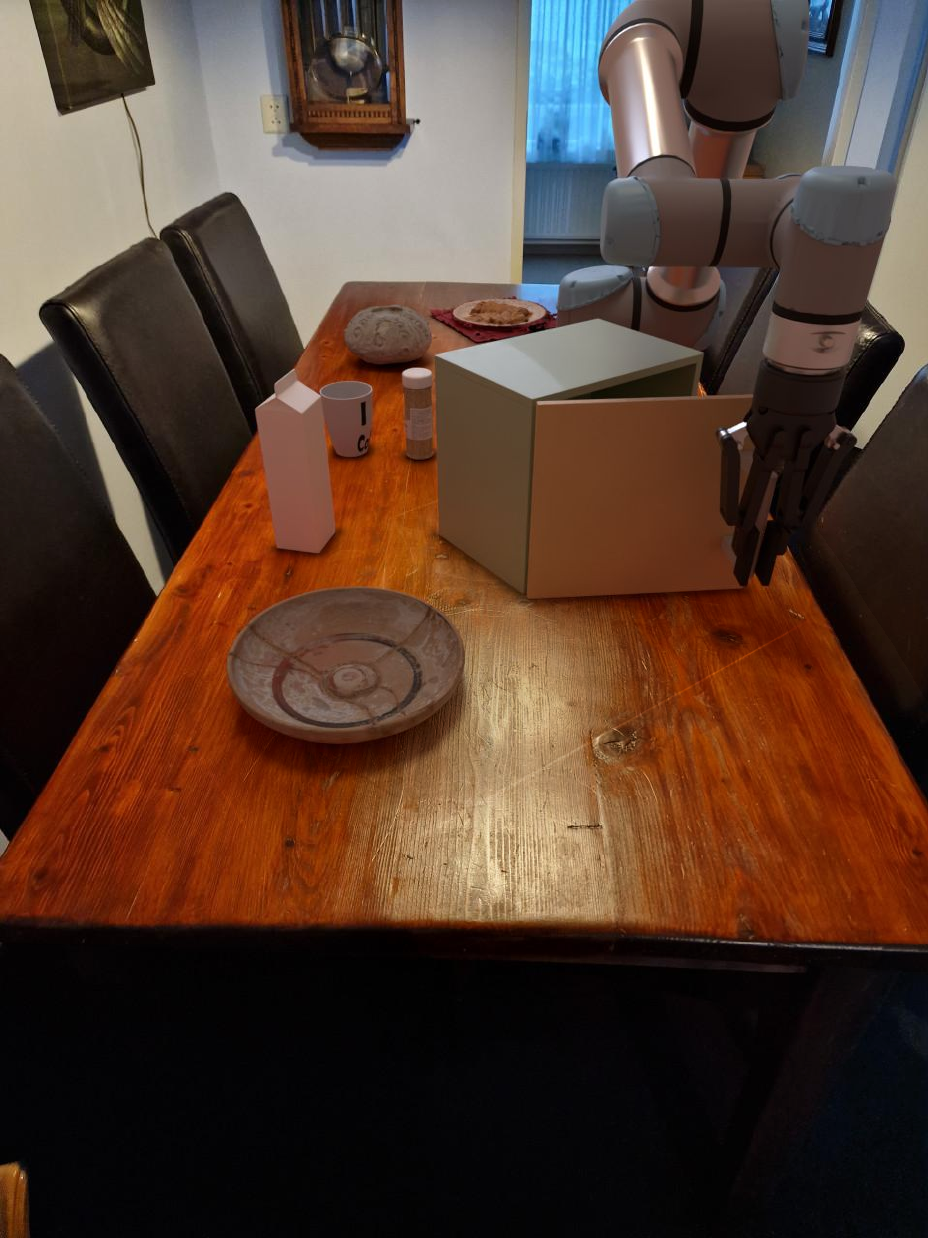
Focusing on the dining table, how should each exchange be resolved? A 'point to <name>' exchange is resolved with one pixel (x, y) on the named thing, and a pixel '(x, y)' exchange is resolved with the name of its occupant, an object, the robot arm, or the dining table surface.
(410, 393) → the sprinkles bottle
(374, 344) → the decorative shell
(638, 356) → the cabinet
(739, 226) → the robot arm
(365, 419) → the cup
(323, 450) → the milk
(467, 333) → the plate with food
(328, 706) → the ceramic bowl
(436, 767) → the dining table surface
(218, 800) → the dining table surface
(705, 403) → the door
